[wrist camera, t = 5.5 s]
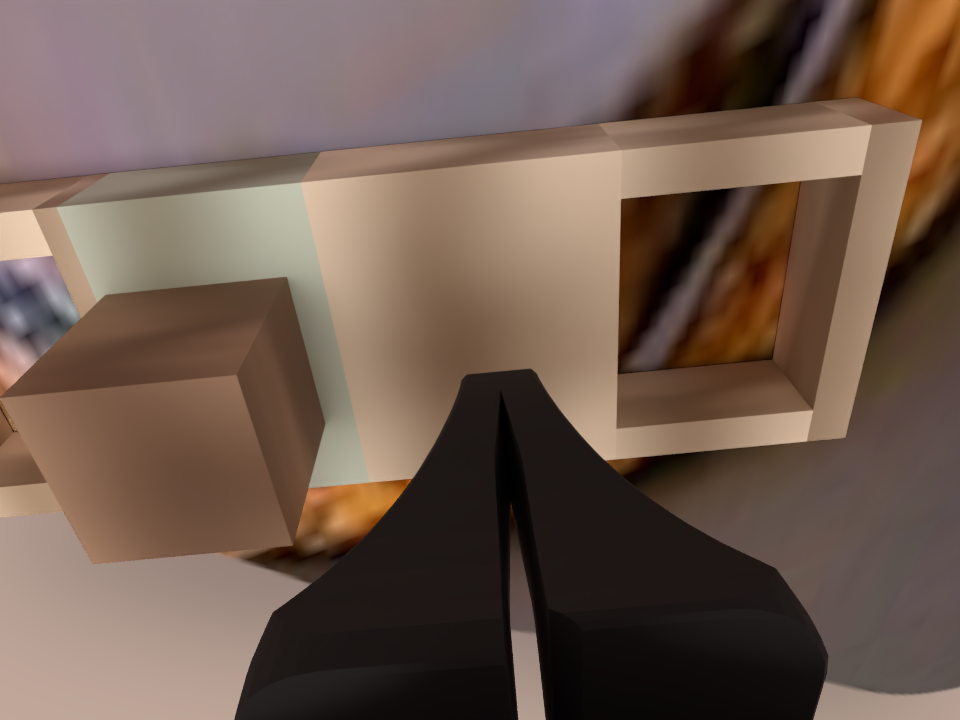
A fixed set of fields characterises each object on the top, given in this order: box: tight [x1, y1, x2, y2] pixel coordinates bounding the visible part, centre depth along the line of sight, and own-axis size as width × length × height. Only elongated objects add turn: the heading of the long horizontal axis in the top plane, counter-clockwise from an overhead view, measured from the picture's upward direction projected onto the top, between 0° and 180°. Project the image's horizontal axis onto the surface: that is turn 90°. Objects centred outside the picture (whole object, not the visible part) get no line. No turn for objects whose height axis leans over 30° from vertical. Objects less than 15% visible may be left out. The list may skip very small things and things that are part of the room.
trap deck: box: [0, 98, 922, 517], centre depth 17 cm, size 24×8×2 cm, turn 95°
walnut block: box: [0, 277, 325, 564], centre depth 14 cm, size 4×4×4 cm
